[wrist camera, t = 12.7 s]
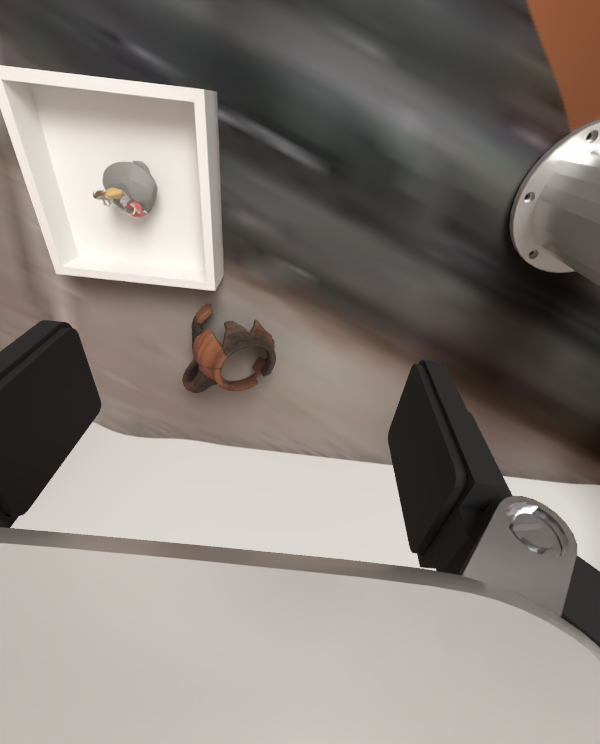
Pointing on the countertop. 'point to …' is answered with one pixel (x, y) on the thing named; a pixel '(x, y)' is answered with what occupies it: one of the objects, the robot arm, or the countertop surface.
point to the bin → (111, 145)
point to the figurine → (129, 188)
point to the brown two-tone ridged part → (224, 354)
